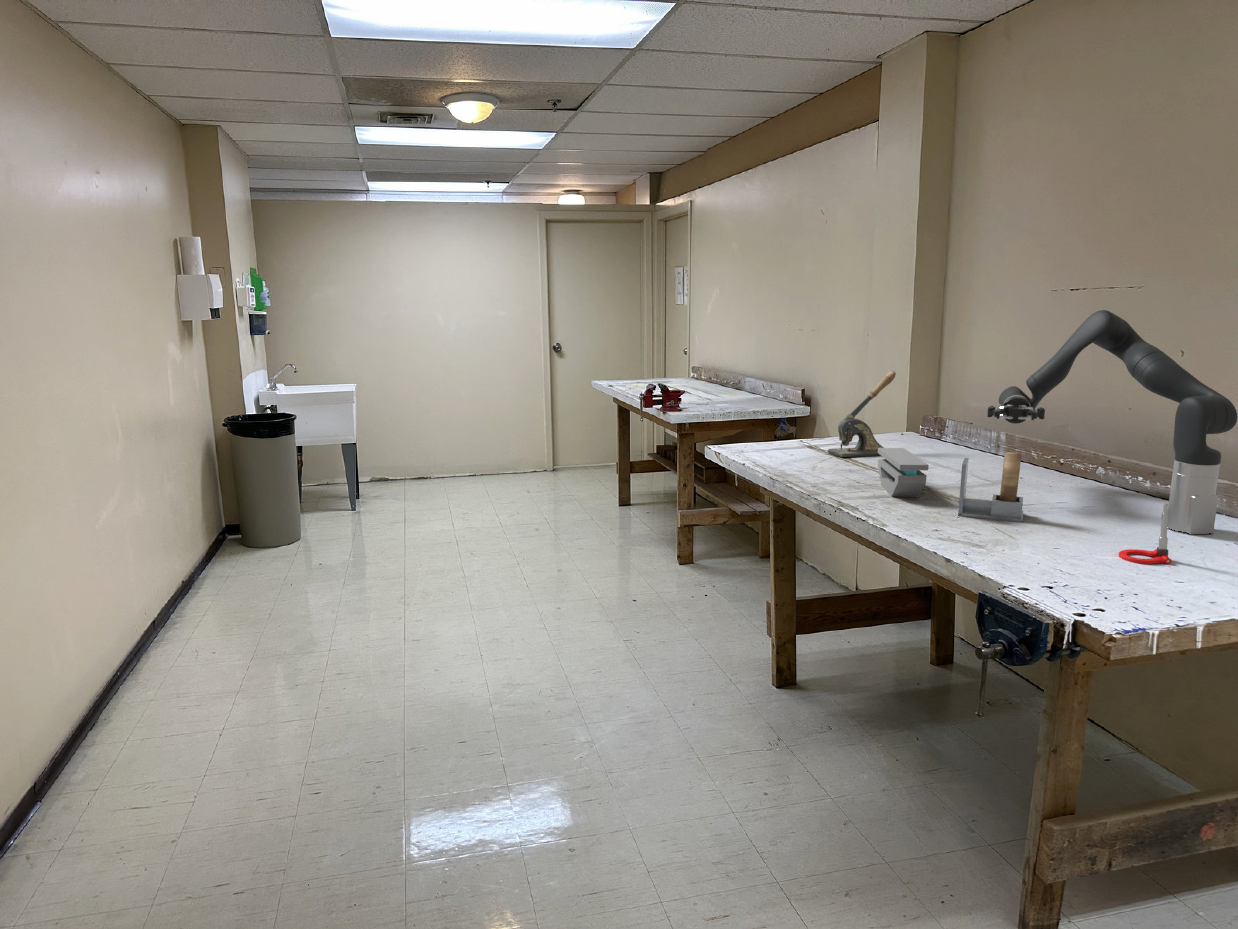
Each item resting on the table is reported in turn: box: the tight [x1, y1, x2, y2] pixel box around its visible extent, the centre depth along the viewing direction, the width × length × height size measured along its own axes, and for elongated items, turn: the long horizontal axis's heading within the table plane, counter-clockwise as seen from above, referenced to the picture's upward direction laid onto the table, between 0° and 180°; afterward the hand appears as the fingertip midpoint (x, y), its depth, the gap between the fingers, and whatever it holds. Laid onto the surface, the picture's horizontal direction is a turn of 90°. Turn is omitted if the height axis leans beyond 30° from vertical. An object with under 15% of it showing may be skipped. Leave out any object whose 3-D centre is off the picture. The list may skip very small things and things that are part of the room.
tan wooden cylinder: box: [999, 452, 1022, 502], centre depth 216 cm, size 4×4×16 cm
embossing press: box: [826, 370, 897, 458], centre depth 298 cm, size 11×24×30 cm, turn 103°
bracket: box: [957, 457, 1024, 523], centre depth 218 cm, size 9×16×14 cm, turn 64°
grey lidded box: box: [877, 447, 929, 497], centre depth 244 cm, size 25×8×11 cm, turn 177°
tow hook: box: [1118, 502, 1172, 565], centre depth 183 cm, size 8×13×9 cm
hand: (1015, 415), depth 223 cm, fingers open, 8 cm apart
